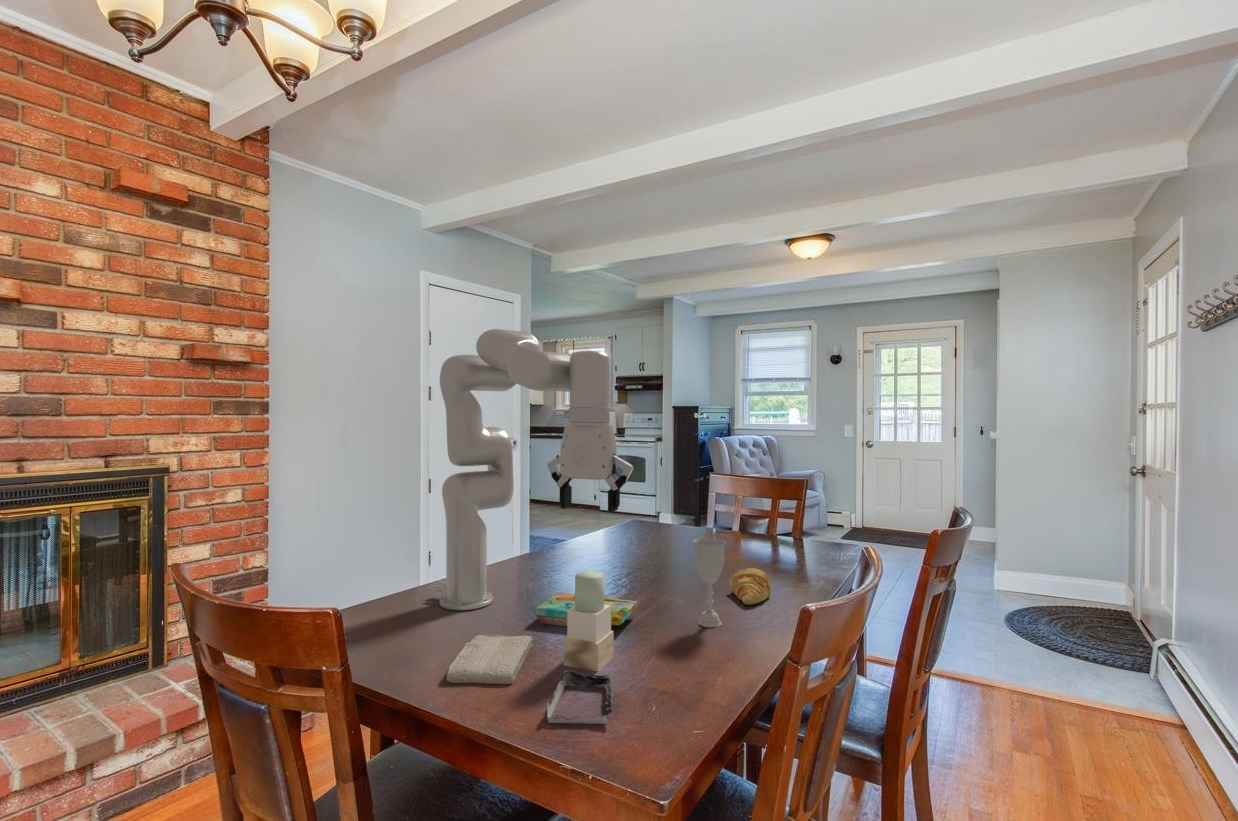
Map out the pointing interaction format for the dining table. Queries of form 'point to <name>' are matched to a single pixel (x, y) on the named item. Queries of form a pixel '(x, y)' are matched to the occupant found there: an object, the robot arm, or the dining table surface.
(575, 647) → the oak base block
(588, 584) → the sage round block
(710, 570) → the chalice
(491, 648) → the washcloth
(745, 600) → the croissant
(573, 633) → the cream middle block
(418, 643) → the dining table surface
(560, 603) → the puzzle game
